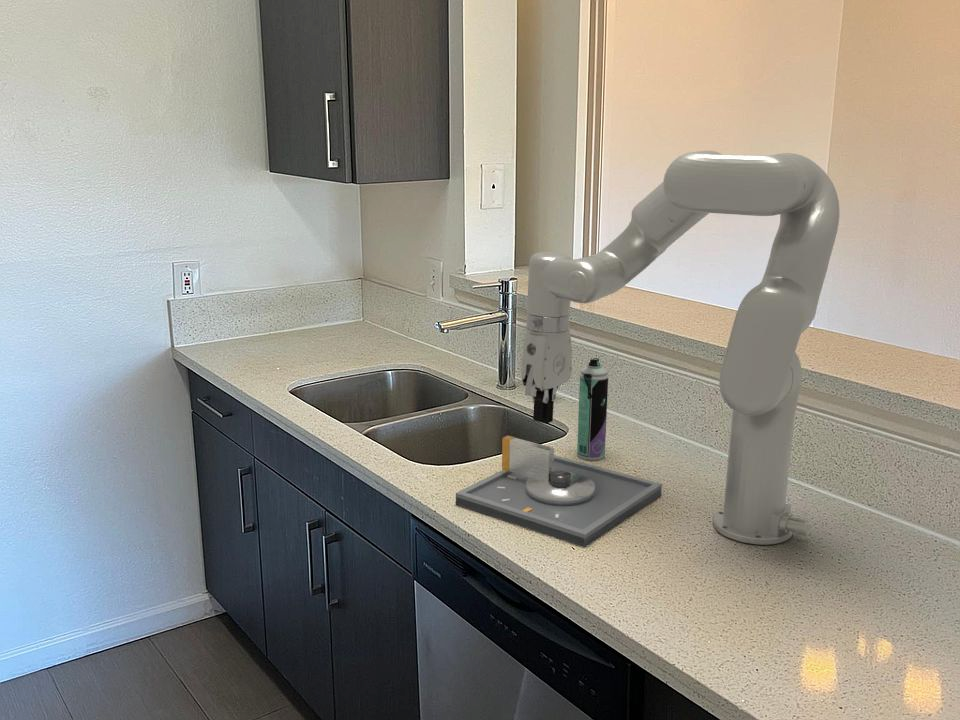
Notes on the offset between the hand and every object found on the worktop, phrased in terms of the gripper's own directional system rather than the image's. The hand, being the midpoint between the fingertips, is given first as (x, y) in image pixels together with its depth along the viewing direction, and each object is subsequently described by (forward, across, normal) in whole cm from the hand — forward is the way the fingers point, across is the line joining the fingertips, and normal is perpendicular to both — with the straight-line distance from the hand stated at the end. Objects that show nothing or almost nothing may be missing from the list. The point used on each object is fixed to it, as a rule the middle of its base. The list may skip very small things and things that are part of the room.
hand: (542, 420), depth 167 cm
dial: (+10, -5, -5) cm, 12 cm away
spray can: (+12, +17, -1) cm, 20 cm away
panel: (+11, -5, -8) cm, 15 cm away
